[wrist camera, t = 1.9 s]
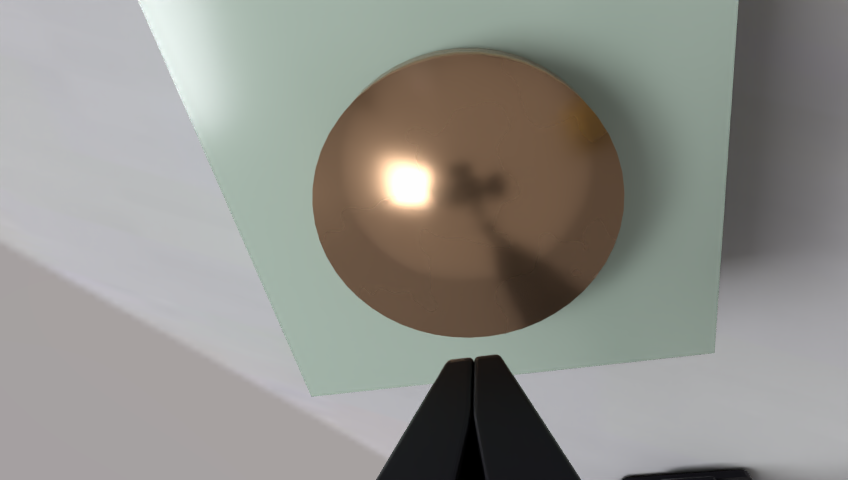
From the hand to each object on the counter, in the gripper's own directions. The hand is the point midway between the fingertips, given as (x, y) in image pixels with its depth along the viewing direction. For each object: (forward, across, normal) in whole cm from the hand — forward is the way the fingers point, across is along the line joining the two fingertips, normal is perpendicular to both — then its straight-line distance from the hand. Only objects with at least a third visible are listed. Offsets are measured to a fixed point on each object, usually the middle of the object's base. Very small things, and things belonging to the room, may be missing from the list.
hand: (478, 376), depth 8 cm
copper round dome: (+11, 0, 0) cm, 11 cm away
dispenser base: (+12, 0, 0) cm, 12 cm away
